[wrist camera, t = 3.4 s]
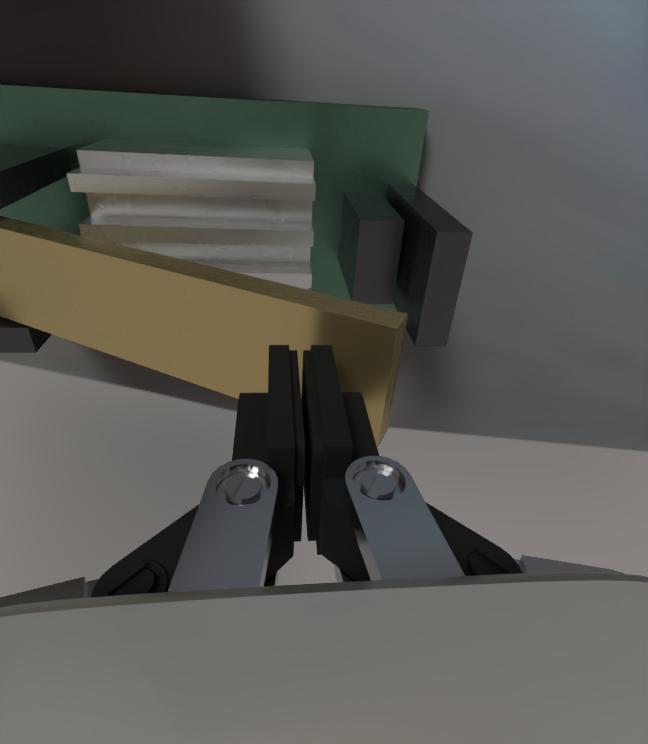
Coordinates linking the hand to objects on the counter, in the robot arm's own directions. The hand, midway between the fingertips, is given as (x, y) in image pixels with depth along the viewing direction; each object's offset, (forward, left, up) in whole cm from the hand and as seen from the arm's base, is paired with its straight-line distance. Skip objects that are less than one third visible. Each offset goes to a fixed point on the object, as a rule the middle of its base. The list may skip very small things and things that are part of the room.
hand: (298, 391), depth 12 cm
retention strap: (+5, 0, -6) cm, 8 cm away
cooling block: (+4, 0, -17) cm, 18 cm away
